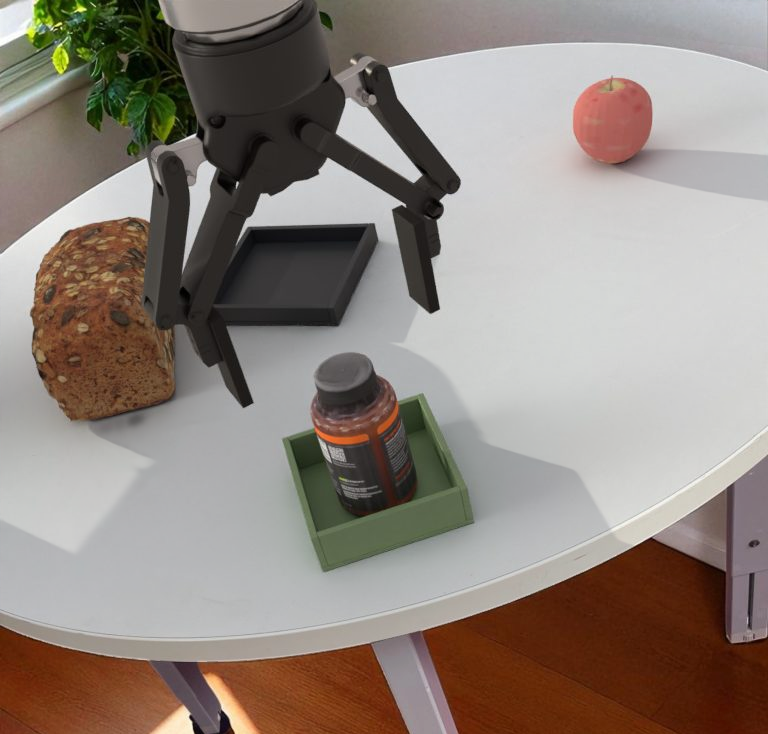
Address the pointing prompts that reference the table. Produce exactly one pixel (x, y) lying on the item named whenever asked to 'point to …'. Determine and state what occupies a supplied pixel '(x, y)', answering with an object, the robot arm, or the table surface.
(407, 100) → the table surface
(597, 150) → the apple
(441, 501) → the bin
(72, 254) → the bread
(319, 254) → the black square tray
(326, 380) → the supplement bottle
